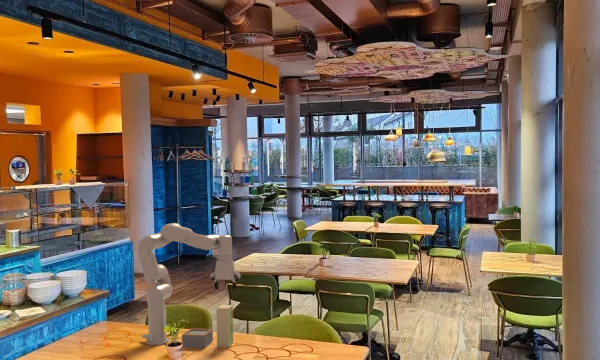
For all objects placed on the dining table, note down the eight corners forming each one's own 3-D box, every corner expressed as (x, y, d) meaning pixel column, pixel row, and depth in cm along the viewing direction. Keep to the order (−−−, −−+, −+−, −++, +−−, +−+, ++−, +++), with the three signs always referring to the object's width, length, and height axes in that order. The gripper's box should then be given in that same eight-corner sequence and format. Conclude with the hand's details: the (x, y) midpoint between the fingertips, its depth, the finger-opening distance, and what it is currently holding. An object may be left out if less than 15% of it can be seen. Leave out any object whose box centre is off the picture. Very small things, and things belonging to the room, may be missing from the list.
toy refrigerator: (229, 347, 275) (229, 308, 276) (216, 347, 277) (216, 307, 277) (234, 343, 283) (234, 304, 284) (221, 342, 285) (221, 304, 285)
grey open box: (182, 347, 278) (182, 334, 278) (190, 340, 290) (190, 328, 290) (205, 347, 276) (205, 335, 276) (212, 341, 288) (212, 329, 288)
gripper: (207, 258, 279) (207, 290, 278) (238, 259, 276) (238, 291, 275) (212, 257, 286) (212, 288, 286) (242, 257, 283) (242, 288, 283)
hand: (225, 289), depth 281 cm, fingers open, 9 cm apart
